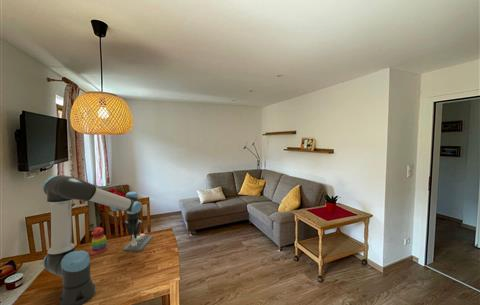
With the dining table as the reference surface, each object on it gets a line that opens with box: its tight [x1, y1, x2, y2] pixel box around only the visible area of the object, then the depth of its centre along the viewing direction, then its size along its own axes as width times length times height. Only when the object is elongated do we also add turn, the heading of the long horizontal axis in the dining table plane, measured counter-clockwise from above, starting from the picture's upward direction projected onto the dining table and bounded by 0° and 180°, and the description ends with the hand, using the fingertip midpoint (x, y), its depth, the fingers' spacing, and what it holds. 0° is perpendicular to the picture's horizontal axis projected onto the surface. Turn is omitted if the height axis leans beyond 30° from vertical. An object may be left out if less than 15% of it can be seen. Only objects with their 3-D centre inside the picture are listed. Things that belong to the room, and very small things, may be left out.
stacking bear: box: [89, 226, 108, 256], centre depth 155 cm, size 11×10×18 cm
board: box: [122, 234, 154, 252], centre depth 165 cm, size 20×14×3 cm
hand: (134, 242), depth 158 cm, fingers closed
